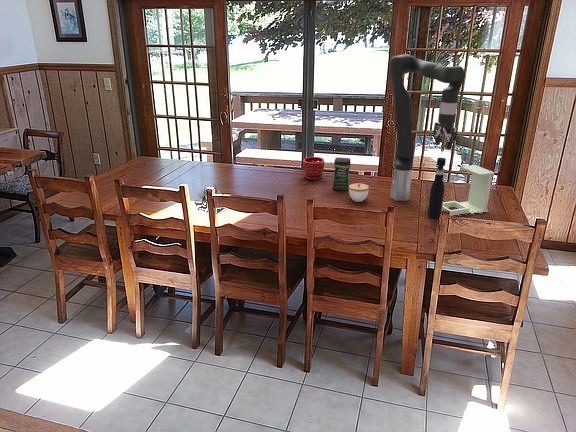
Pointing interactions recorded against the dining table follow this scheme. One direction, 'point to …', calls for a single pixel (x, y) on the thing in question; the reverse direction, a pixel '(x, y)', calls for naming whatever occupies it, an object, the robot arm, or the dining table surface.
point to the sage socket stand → (473, 192)
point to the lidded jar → (358, 191)
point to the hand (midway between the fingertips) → (443, 147)
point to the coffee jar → (341, 173)
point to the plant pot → (313, 167)
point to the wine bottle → (437, 192)
